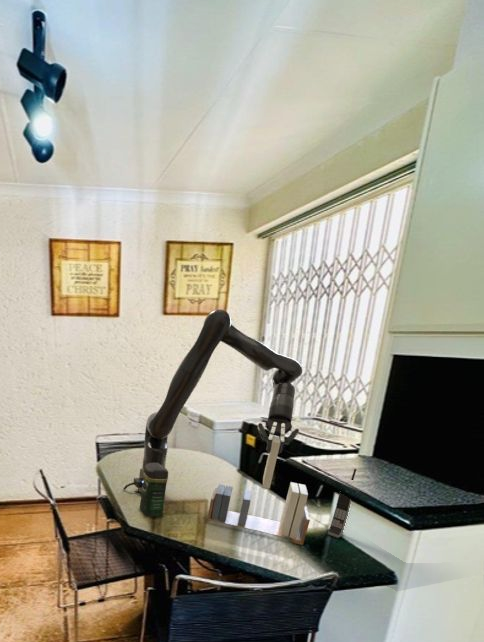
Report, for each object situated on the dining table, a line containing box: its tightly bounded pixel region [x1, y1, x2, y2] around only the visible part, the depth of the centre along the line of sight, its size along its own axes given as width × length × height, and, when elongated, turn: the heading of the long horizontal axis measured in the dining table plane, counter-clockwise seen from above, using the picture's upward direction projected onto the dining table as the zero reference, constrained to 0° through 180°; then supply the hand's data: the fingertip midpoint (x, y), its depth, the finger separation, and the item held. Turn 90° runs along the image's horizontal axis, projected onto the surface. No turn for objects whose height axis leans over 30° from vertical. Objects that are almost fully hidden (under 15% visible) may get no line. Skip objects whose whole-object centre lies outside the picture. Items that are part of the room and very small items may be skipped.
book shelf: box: [206, 487, 311, 546], centre depth 139 cm, size 32×12×10 cm, turn 69°
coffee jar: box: [139, 463, 169, 518], centre depth 141 cm, size 10×8×19 cm
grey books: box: [211, 483, 253, 526], centre depth 141 cm, size 12×10×10 cm
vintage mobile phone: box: [327, 468, 357, 539], centre depth 135 cm, size 4×5×25 cm
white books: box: [279, 481, 309, 538], centre depth 134 cm, size 5×10×16 cm, turn 159°
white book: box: [262, 435, 280, 490], centre depth 132 cm, size 2×10×16 cm, turn 159°
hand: (273, 452), depth 129 cm, fingers closed on white book, 2 cm apart
